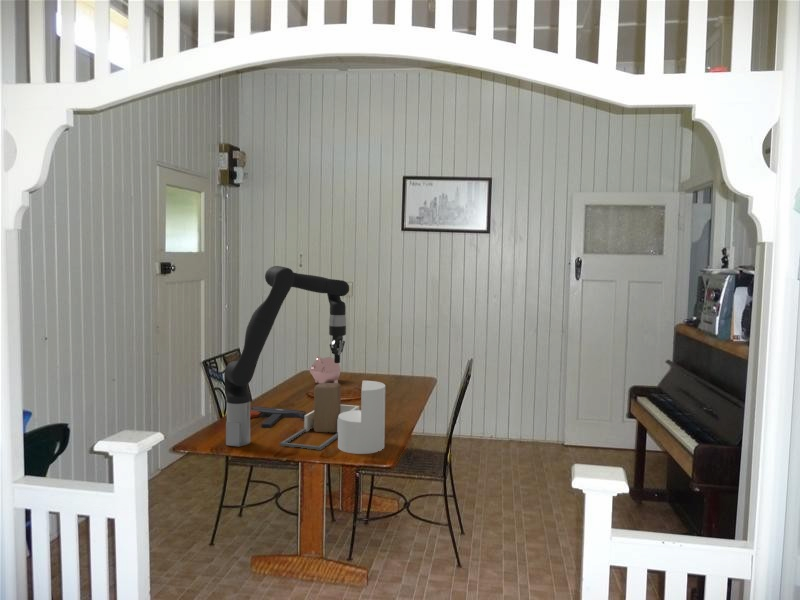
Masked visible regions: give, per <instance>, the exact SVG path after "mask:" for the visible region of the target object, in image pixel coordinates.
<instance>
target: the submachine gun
mask: <svg viewBox="0 0 800 600" xmlns="http://www.w3.org/2000/svg"><path fill="white" fill-rule="evenodd" d="M306 414H307V411H306V410H298V409H287V408H276V407H267V406H266V407H265V406H253V407H250V420H251V419H253V418H254V419H255V418H264V419H265V418H267V419H266V420H264V421H263V422H262V423H261V425H260V426H261V427H260V428H269V429H270V428H272V427H273V426H274V425H275V424H276V423H277V422H278V421H279V420H280V419H281V418H294V419H295V418H296V419H298V418H299V419H300V421H301V420H302V422H304V416H305V415H306Z"/></svg>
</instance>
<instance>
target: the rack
mask: <svg viewBox="0 0 800 600" xmlns="http://www.w3.org/2000/svg"><path fill="white" fill-rule="evenodd" d="M354 410H360V405H352V404H351V405H350V404H341V411H340V414H341V413H343V412H347V411H354ZM305 414H306V415H305V416H304V418H303V420H304V421H303V424H304V425H303V426H304V427H303V429H306V432H305V433H308V432H309V431H310V429H311V430H312V429H314V409H313V410H312V411H310V412H309V413H305ZM337 433H338V419H337V432H336V434H337Z"/></svg>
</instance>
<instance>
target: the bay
mask: <svg viewBox="0 0 800 600" xmlns="http://www.w3.org/2000/svg"><path fill="white" fill-rule="evenodd" d="M304 432H305V433H307V432H306V429H304V428H302V429H300V430H299V431H297V432H296V433H293V434H292V435H291V436H289V437H288V438H285V439H284V440H283V441H281V442H280V443H279V446H280V447H285V446H289V448H294V447H301V448H300V449H303V448H307V449H306V450H311V449H316V450H315V451H322V450H323V449H324V448H326V447H327V446H328V445H330V444H331V443H332V442H334V441H335V440H336V439H337V440H338V433H337V432H336V433H334V435H332V436H331V437H330V438H328V439H327V440H325V441H324V442H322V443H321V444H320V445H312V444H311V445H310V444H300V443H293V442H292V441H293V440H295V439H297V438H298V437H300V436H301V435H303V434H305V433H304ZM302 433H303V434H302ZM299 435H300V436H299ZM296 437H297V438H296ZM294 438H295V439H294ZM291 440H292V441H291ZM288 442H289V443H288ZM325 446H326V447H325Z"/></svg>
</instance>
